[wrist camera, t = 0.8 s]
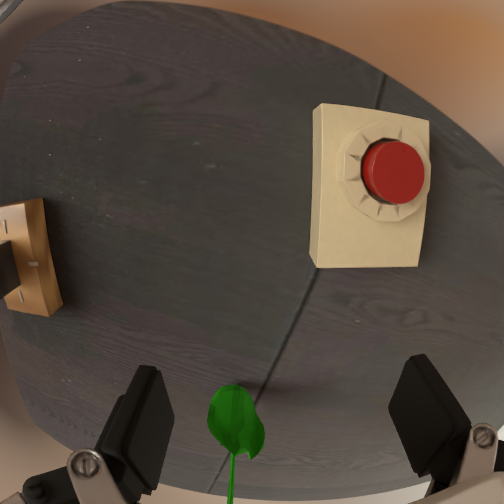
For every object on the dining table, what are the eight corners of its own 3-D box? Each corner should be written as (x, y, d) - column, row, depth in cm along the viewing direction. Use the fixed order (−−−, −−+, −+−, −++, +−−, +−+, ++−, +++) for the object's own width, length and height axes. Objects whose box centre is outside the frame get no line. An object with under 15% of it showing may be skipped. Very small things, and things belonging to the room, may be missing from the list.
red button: (362, 139, 16) (372, 137, 15) (412, 146, 16) (425, 146, 15) (361, 198, 18) (370, 202, 16) (410, 201, 18) (422, 206, 16)
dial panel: (-1, 205, 22) (-19, 210, 19) (46, 197, 22) (26, 202, 19) (19, 297, 26) (4, 308, 23) (67, 304, 26) (52, 318, 23)
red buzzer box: (312, 110, 20) (327, 97, 15) (410, 123, 20) (441, 119, 15) (309, 254, 24) (321, 278, 19) (401, 254, 24) (428, 274, 19)
